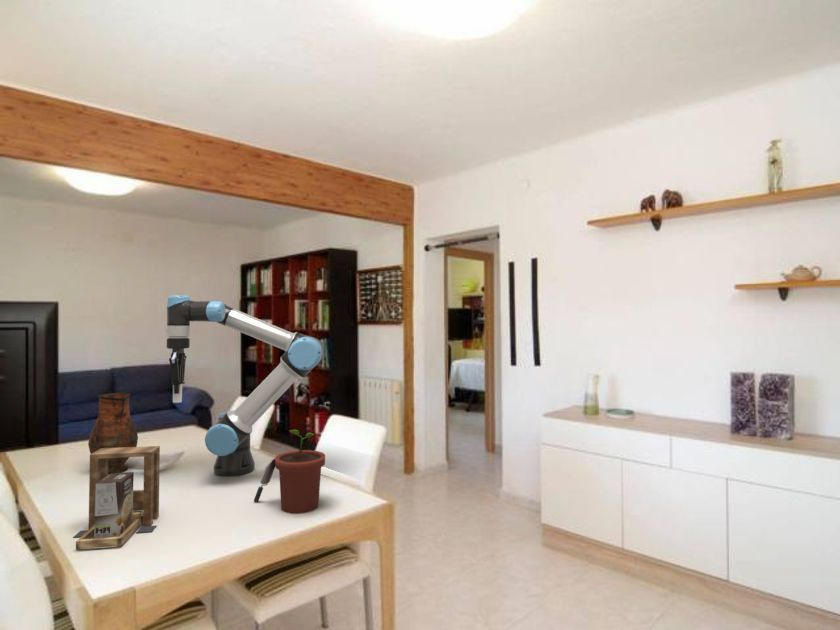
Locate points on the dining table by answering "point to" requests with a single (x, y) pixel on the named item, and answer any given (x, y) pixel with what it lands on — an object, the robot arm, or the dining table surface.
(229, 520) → the dining table surface
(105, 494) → the coffee box
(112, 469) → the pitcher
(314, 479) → the potted plant
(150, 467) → the brown open upright frame
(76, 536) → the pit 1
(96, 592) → the dining table surface
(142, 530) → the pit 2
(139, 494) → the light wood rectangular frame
